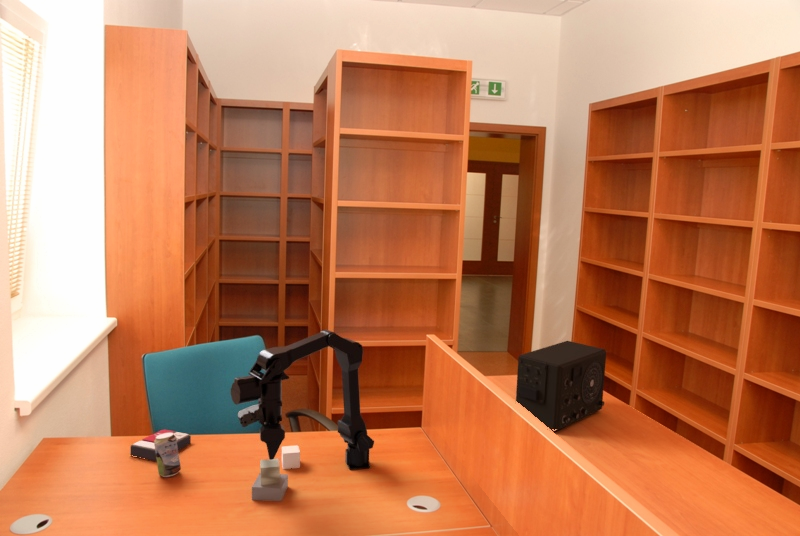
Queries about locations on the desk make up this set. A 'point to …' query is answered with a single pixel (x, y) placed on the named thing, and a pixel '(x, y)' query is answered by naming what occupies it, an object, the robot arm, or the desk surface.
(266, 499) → the grey base block
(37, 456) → the desk surface
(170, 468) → the beverage can
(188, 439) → the red and white box
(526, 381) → the vintage radio
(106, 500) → the desk surface
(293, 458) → the off-white block
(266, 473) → the cube block
